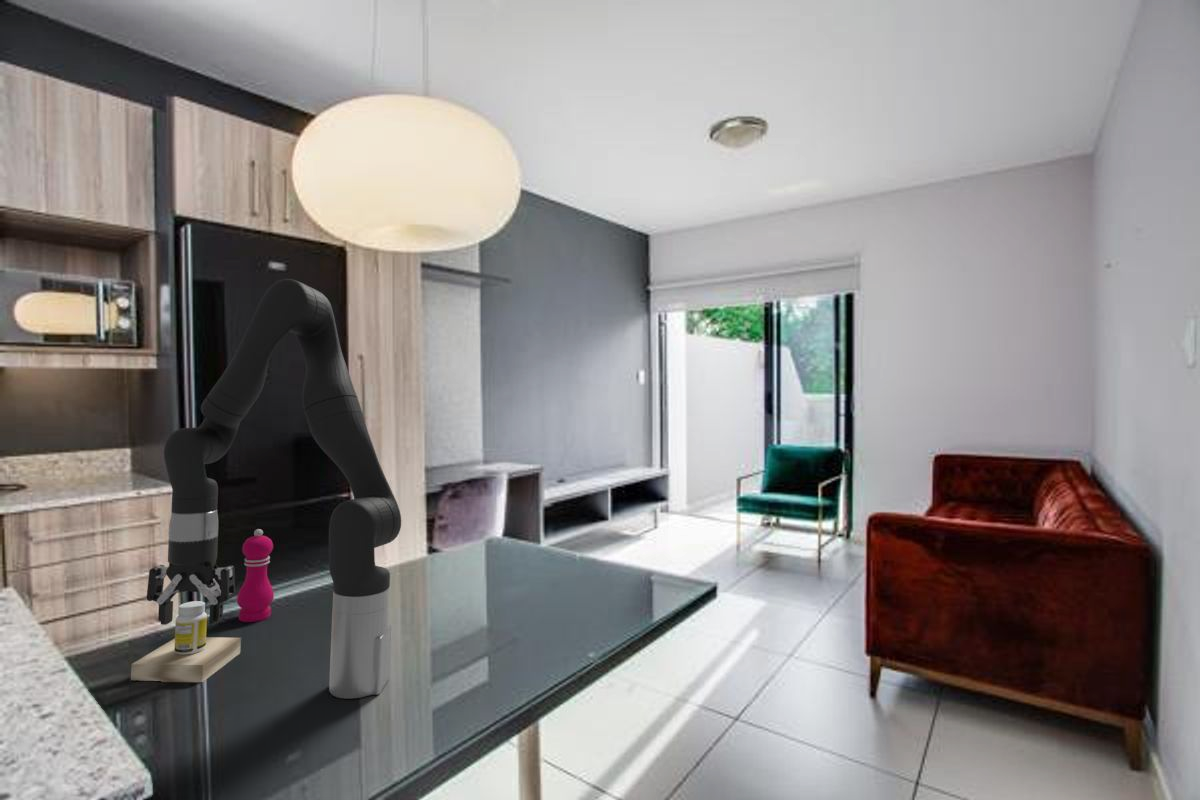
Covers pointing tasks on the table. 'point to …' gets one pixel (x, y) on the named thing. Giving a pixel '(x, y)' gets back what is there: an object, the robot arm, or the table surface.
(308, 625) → the table surface
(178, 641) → the supplement bottle
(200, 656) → the birch block
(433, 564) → the table surface
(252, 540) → the pepper mill
